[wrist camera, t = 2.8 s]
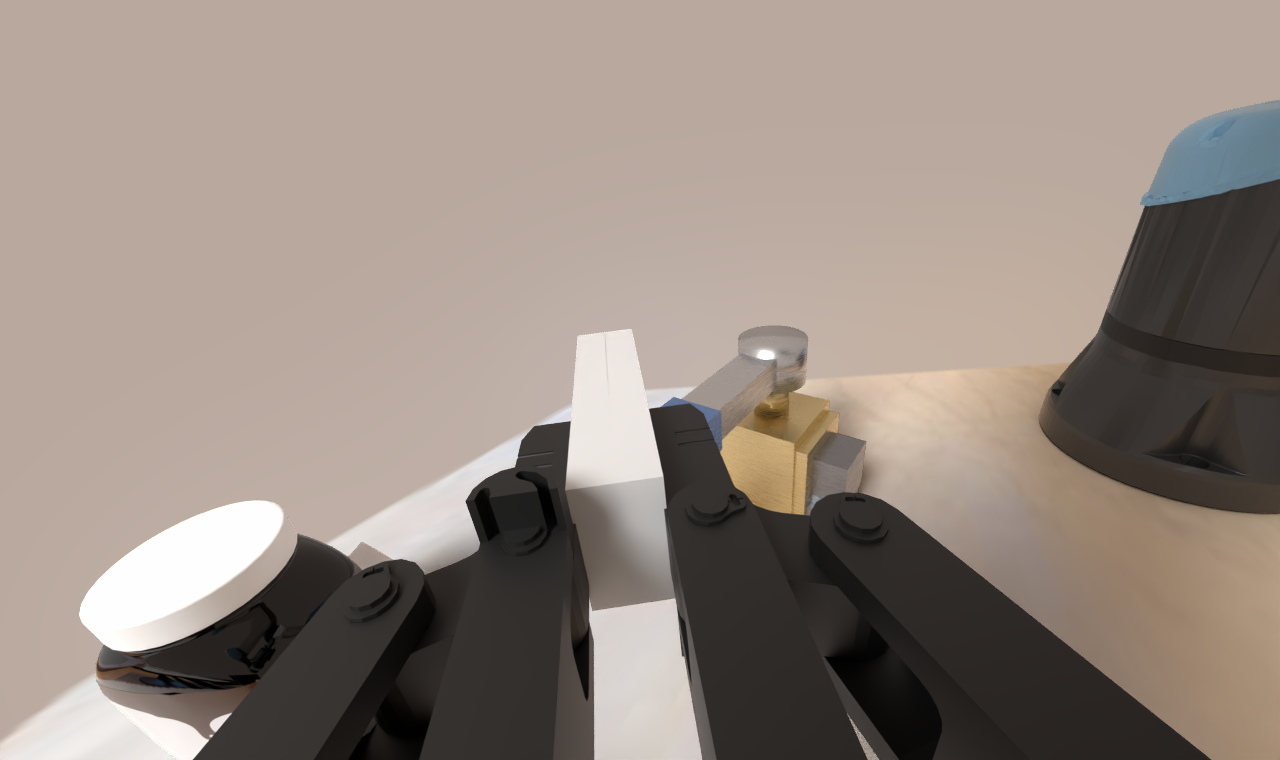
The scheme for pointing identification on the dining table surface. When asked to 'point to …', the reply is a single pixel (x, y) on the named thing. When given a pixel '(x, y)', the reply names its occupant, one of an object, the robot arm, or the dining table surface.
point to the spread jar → (208, 616)
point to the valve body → (792, 454)
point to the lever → (750, 377)
